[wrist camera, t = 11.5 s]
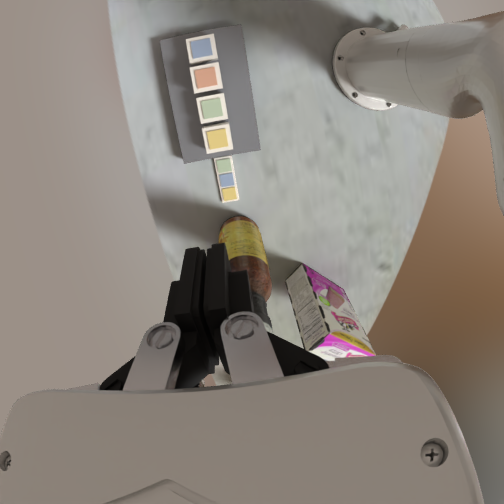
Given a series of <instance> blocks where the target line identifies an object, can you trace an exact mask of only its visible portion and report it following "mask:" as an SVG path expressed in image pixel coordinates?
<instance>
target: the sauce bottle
mask: <svg viewBox="0 0 504 504" xmlns="http://www.w3.org/2000/svg"><path fill="white" fill-rule="evenodd" d="M224 242H225V245H226V249H227V253H228V258H229V262H230V267H231V271H232V272H236V271H242V270H247V271H248V276H249V282H250V287H251V293H252V299H253V307H254V313H255V314H257V315H258V316H259V317H260V318H261V319H262V321H263V323H264V326H265V329H266V331H268V332H270V333H272V325H271V320H270V318H269V316H268V314H267V309H266V307H267V303H266V302H267V300H268V299H269V297H270V294H271V290H272V282H271V278H270V270H269V266H268V262H267V258H266V254H265V250H264V246H263V242H262V238H261V233H260V232H259V229H258V226H257V225H256V223H255V222H254V221H253V220H251V219H249V218H247V217H243V216H238V217H233V218H230V219H228V220H227V221H226V222H225V223H224V224H223V226H222V227H221V229H220V234H219V243H224Z"/></svg>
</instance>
